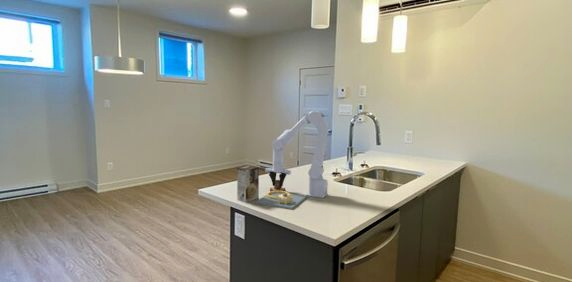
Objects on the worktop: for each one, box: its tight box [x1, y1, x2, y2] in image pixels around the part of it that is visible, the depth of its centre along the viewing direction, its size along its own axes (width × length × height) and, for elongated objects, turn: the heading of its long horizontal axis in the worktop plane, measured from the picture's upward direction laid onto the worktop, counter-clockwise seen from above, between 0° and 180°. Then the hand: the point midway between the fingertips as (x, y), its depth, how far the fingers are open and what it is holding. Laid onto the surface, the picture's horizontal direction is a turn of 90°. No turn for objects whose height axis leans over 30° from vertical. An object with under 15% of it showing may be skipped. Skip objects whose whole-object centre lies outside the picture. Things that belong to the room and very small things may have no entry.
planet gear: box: [269, 179, 286, 192], centre depth 170 cm, size 9×9×6 cm
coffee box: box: [236, 164, 260, 203], centre depth 154 cm, size 9×6×16 cm
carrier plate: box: [254, 190, 307, 210], centre depth 153 cm, size 19×19×5 cm
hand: (277, 186), depth 170 cm, fingers closed on planet gear, 4 cm apart
